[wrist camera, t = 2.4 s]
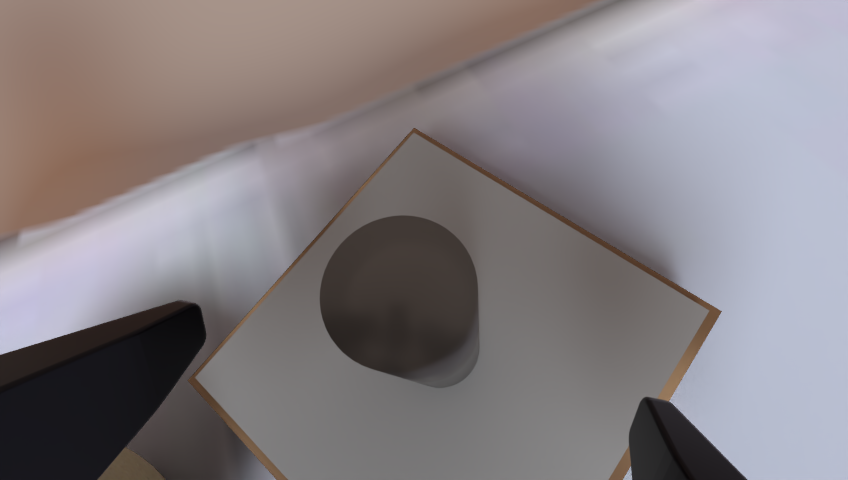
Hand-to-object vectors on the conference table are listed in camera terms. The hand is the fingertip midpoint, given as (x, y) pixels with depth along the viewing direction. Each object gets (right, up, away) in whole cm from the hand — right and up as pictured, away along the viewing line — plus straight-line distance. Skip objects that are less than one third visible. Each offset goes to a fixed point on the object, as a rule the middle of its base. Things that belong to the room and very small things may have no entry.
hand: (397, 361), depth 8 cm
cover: (+1, -2, +7) cm, 7 cm away
